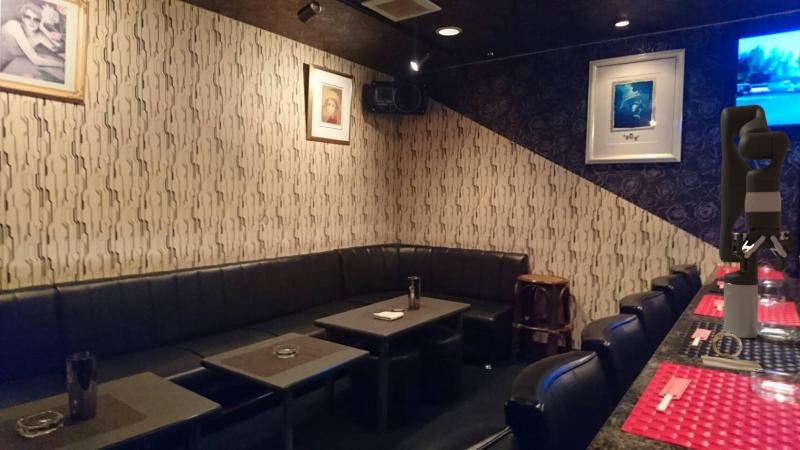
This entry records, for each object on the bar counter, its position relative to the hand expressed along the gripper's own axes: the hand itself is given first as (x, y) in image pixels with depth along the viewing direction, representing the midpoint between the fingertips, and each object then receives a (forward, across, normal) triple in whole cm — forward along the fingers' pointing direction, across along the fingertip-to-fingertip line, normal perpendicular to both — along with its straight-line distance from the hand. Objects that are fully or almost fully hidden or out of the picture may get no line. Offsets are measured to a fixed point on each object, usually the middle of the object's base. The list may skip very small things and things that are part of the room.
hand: (762, 271), depth 126 cm
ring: (+26, +3, -9) cm, 28 cm away
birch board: (+26, +6, -3) cm, 27 cm away
